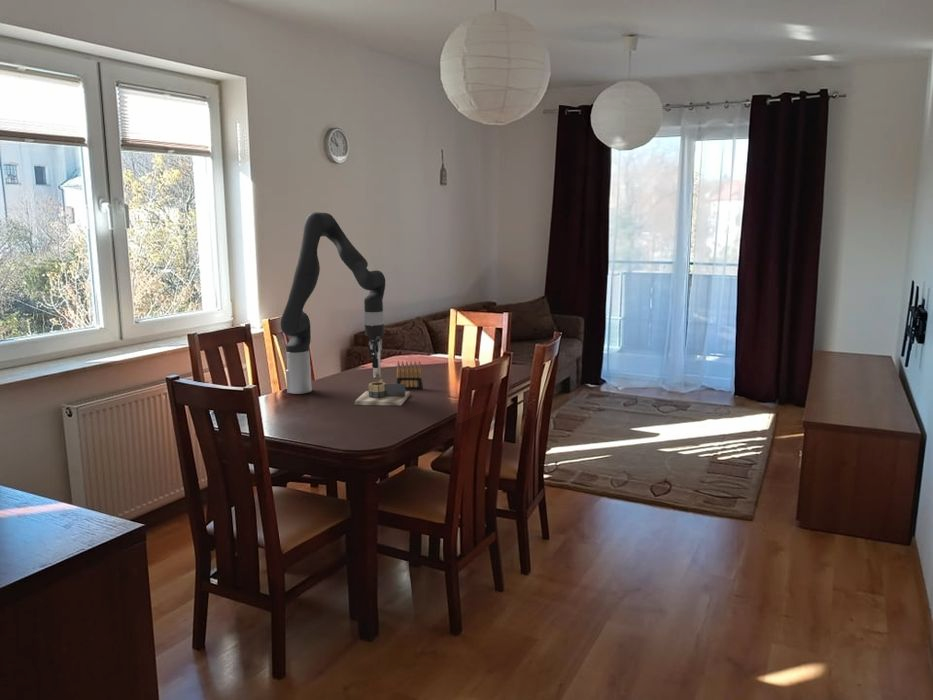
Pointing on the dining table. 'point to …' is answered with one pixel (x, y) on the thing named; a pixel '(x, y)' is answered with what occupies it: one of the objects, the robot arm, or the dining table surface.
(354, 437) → the dining table surface
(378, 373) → the hinge pin
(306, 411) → the dining table surface
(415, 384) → the ammunition clip
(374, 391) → the base plate with nut
